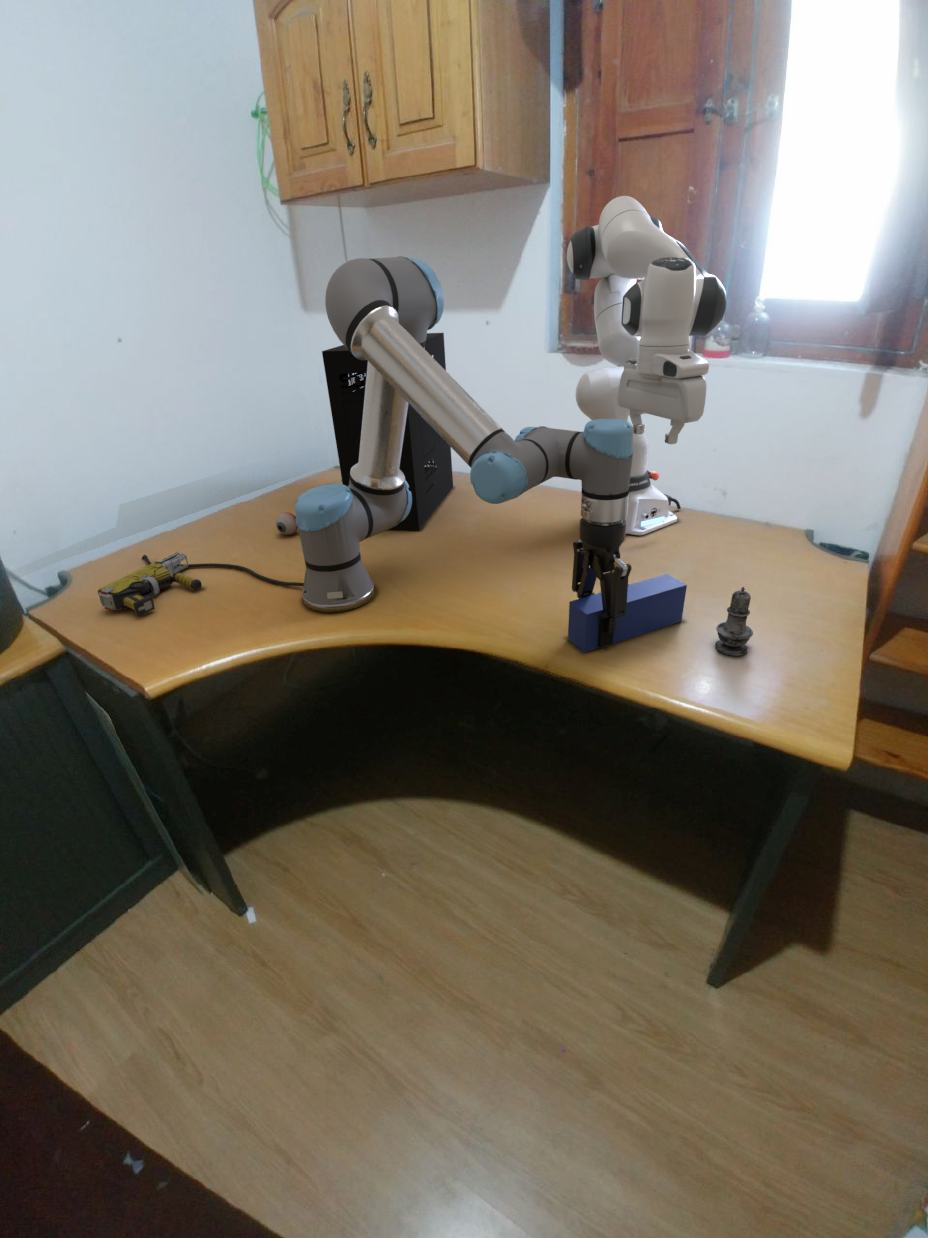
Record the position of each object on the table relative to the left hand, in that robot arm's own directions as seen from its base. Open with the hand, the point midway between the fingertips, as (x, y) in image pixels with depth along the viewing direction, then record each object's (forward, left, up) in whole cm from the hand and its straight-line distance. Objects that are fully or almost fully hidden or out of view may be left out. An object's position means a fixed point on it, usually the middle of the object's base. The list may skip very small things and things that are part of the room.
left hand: (595, 637), depth 111 cm
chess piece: (+23, +5, -1) cm, 24 cm away
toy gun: (-96, -11, -1) cm, 96 cm away
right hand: (+3, +28, +30) cm, 41 cm away
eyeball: (-90, +27, -1) cm, 94 cm away
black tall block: (-69, +56, -1) cm, 89 cm away
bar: (+5, +5, -1) cm, 7 cm away
